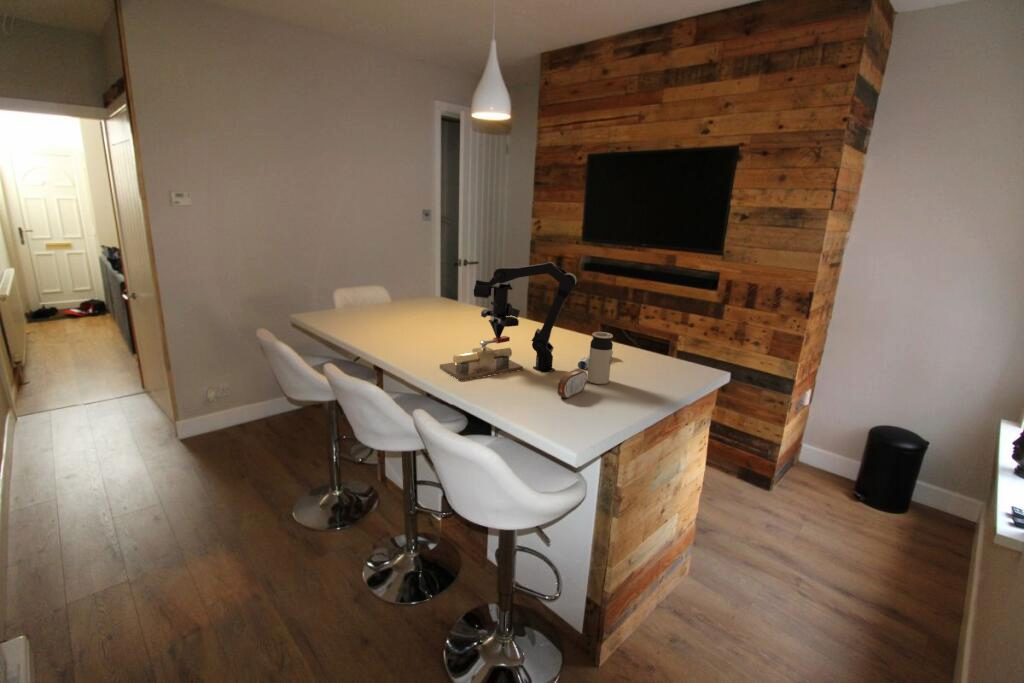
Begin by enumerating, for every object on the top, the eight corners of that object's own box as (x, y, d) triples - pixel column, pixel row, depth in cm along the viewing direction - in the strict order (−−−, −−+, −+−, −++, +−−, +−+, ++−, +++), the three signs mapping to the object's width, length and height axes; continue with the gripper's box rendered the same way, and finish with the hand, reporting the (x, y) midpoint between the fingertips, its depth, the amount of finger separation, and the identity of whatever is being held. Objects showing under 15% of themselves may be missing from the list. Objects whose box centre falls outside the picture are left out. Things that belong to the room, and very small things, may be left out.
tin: (579, 388, 171) (581, 365, 169) (587, 390, 170) (589, 367, 167) (555, 399, 160) (557, 375, 158) (563, 401, 158) (565, 377, 156)
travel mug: (584, 382, 178) (588, 334, 173) (591, 376, 185) (595, 330, 180) (604, 386, 174) (610, 338, 170) (611, 380, 181) (616, 334, 176)
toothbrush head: (576, 359, 193) (604, 339, 211) (576, 374, 195) (604, 353, 214) (587, 362, 190) (615, 342, 208) (587, 377, 192) (614, 356, 211)
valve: (522, 370, 188) (524, 345, 185) (459, 381, 172) (459, 354, 170) (500, 358, 200) (501, 335, 198) (439, 368, 185) (439, 343, 182)
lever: (483, 346, 181) (483, 342, 181) (478, 344, 183) (478, 340, 182) (509, 341, 190) (509, 337, 190) (504, 339, 192) (505, 335, 192)
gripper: (531, 303, 183) (528, 342, 187) (504, 294, 198) (502, 331, 202) (507, 305, 177) (504, 345, 181) (481, 295, 192) (479, 333, 196)
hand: (498, 338), depth 190 cm, fingers closed
